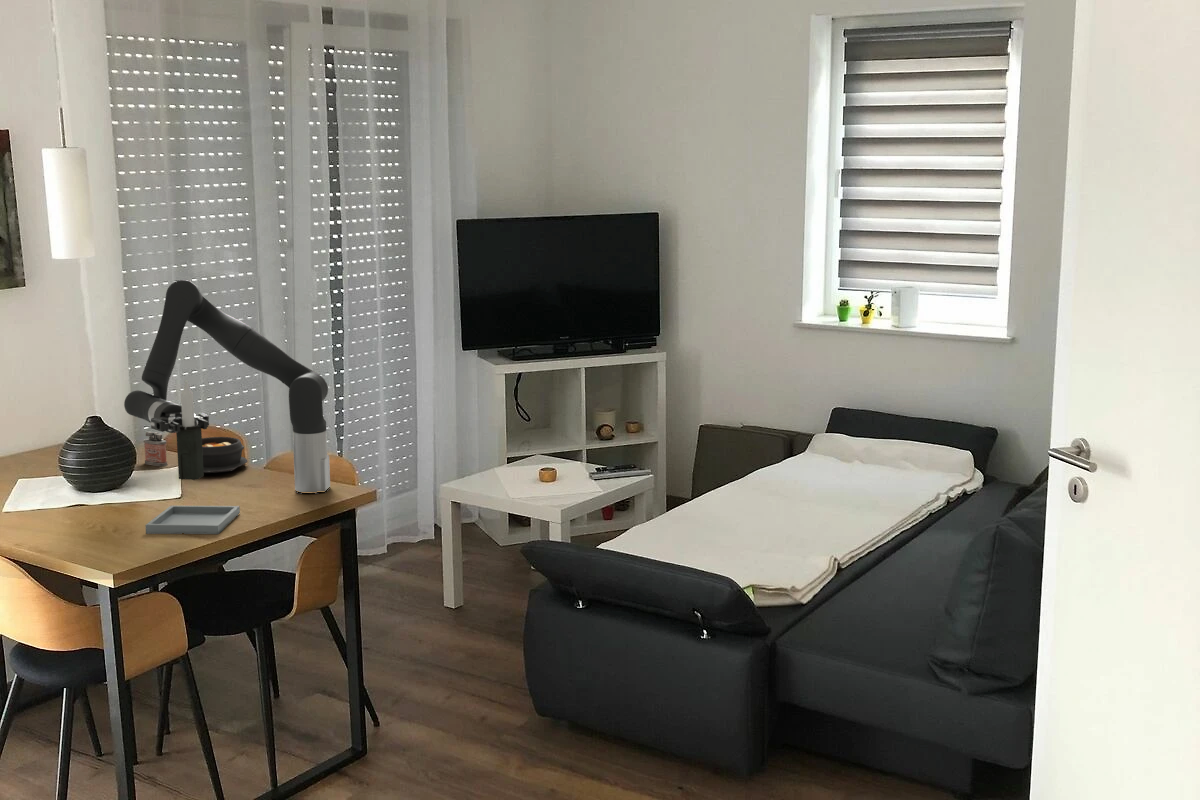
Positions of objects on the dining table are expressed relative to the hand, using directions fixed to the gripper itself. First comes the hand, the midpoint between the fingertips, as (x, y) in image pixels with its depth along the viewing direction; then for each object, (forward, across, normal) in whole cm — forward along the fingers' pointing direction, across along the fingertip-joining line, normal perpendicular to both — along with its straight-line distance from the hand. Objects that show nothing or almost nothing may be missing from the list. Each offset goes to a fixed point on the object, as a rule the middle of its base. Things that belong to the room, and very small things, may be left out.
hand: (192, 426), depth 300 cm
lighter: (-72, +16, +26) cm, 79 cm away
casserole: (-56, +28, +26) cm, 68 cm away
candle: (-2, 0, +14) cm, 14 cm away
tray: (-2, 0, +26) cm, 26 cm away
